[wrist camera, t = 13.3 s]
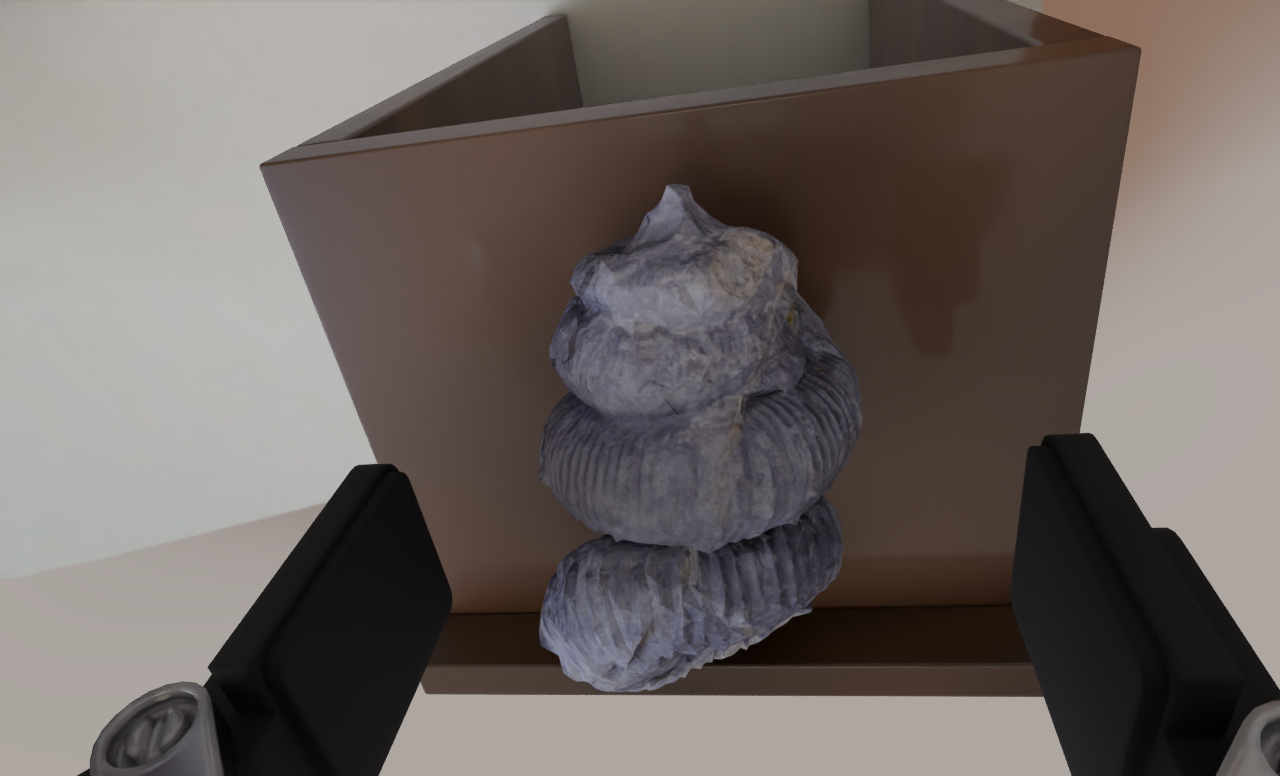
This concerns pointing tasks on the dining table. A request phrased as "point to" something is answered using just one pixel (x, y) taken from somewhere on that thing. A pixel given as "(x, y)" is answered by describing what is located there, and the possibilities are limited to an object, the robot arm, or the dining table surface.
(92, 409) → the dining table surface
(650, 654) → the seashell
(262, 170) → the shelf
